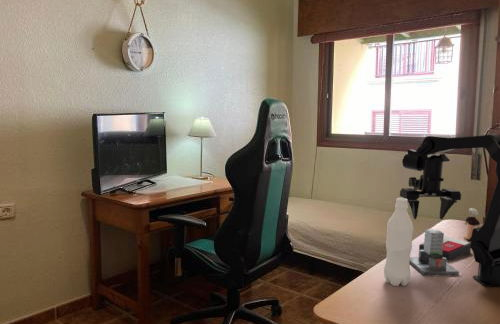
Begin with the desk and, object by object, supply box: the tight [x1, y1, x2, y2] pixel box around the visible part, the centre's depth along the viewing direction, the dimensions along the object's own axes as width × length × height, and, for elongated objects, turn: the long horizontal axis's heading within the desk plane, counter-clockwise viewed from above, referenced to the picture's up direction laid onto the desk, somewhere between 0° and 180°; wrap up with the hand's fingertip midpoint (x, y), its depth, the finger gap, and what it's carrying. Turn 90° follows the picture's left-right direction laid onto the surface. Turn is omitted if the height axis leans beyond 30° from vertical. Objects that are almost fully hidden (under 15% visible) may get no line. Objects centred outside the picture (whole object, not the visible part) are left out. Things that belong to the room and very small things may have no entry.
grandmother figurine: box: [463, 207, 481, 240], centre depth 159 cm, size 8×4×13 cm, turn 25°
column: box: [423, 229, 445, 255], centre depth 130 cm, size 4×4×7 cm
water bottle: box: [383, 197, 414, 287], centre depth 118 cm, size 7×7×25 cm
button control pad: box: [418, 235, 472, 262], centre depth 146 cm, size 11×4×15 cm
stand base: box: [409, 249, 460, 276], centre depth 131 cm, size 12×11×5 cm
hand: (427, 218), depth 138 cm, fingers open, 9 cm apart
